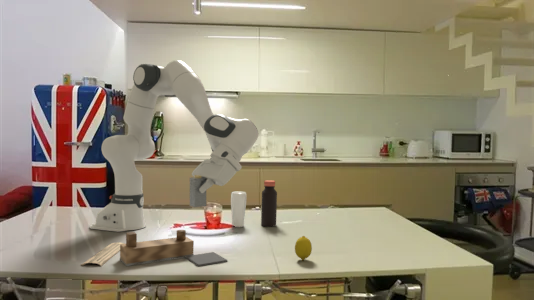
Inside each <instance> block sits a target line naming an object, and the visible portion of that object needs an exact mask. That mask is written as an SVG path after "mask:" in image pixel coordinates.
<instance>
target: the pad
mask: <svg viewBox="0 0 534 300" xmlns="http://www.w3.org/2000/svg"><path fill="white" fill-rule="evenodd" d="M185 258H186V259H187V260H188V261H189V262H191V263H192V264H194V265H196V266H197V267H205V266H210V265H215V264H222V263H227V262H228V259H226V258H225V257H223V256H221V255H219V254H218V253H217V252H213V251H211V252H205V253H198V254H194V255H190V256H186V257H185Z"/></svg>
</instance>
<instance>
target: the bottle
mask: <svg viewBox="0 0 534 300" xmlns="http://www.w3.org/2000/svg"><path fill="white" fill-rule="evenodd" d="M263 182H264V183H263V187H264V189H263V190H262V192H261V208H260V209H261V210H260V211H261V212H260V213H261V214H260V215H261V217H260V220H261V221H260V225H261V226H263V227H266V228H268V227H269V228H272V227H276V226H277V209H278V206H277V205H278V202H277V201H278V192H277V191H276V189H275V187H276V181H275V180H270V179H269V180H264V181H263Z"/></svg>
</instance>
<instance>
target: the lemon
mask: <svg viewBox="0 0 534 300" xmlns="http://www.w3.org/2000/svg"><path fill="white" fill-rule="evenodd" d="M312 250H313V247H312V243H311V240H310V239H309V238H308V237H306V236H305V235H302V236H301V237H299V238H297V239H296V242H295V245H294V252H295V255H296V256H297V258H299V259H301V260H302V261H304V260H306V259H307V258H309V257H310V256H311V254H312Z"/></svg>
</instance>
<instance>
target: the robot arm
mask: <svg viewBox="0 0 534 300" xmlns="http://www.w3.org/2000/svg"><path fill="white" fill-rule="evenodd" d="M132 79H133V85H132V88H131V90H130V92H129V95H128V99H127V103H126V106H125V108H124V109H125V110H124V114H123V122H124V123H125V124H126V125H127V134H115V135H112V136H109V137H106V138H105V139H104V140H103V141H102V143H101V153H102V155H103V157H104V158H105V160H107V161H108V162H109V164H110V166H111V168H112V171H113V174H114V193H113V194H112V195H110V196H108V198H109V200H110V202H109V203H108V204H107V205H106V206H104V207H103V208H102V209H101V210H99V211H98V213H97V214H96V217H95V218H96V219H95V222H92V223H91V224H90V225H89V229H91V230H101V231H108V232H109V231H110V232H118V233H119V232H120V233H121V232H126V231H127V232H128V231H133V230H134V231H135V230H141V229H143V228H145V227H146V226H147V224H146V220H145V216H144V203H145V202H144V201H145V200H144V193H143V178H144V177H143V174H142V173H141V172H140V171H138V169H137V167H136V164H135V162H136V161H143V160H146V159H149V158H151V157H152V156H153V155H154V153H155V150H156V145H155V142H154V140H153V139H152V136H151V123H152V119H153V115H154V111H155V107H156V105H157V100H158V97H160V96H162V95H163V96H164V97H167V98H168V97H170V98H171V97H176V99H178V101H180V103H181V104H183V106H184V107H185V108H186V109H187V110H188V111H189V113H190V114H191V115H192V116H193V117H194V118H195V119H196V120H197V122H198V123H199V125H200V127H201V128H202V129H203V131H204V133H205V136H206V138H207V140H208V143H209V145H210V149H211V151H212V152H211V153H210V159H209V158H206V159H204V160H203V161H201V162H200V163H199V164H198V166H196V167H195V169H193V171H192V172H191V176H192V177H194V175H201V176H202V177H203V178H206V182H205V183H204V184H203V185H202V186H200V187H199V188H198V191H199V192H200V193H204V192H205V191H206V192H207V190H208V189H210V188H211V187H213V185H216V186H220V187H223V186H225V185H226V184H227V183H229V182H230V181H231V179H232V178H233V177H234V176H235V175H236V173H237V172H239V171H240V170H242V168H243V166H242V165H241V163H240V162H241V160H242V158H243V156H245V154H247V153H248V152H249V151H250V150H251V149H252V147H253V146H254V145H255V143H256V142H257V140H258V139H259V131H258V128H257V127H256V125H255V124H254V122H252V120H250V119H247V118H242V119H241V118H240V119H238V118H232V117H229V116H227V115H225V114H222V113H215V114H214V113H213V111H212V109H211V105H210V102H209V99H208V96H207V93H206V89H205V87H204V84H203V82H202V80H201V79H200V77H199V76H198V75H197V74H196V72H195V71H194V70H193V69H192V68H191V66H189V65H188V64H187V63H185V62H184V61H182V60H178V59H175V60H172V61H170V62H169V63H167V64H166V65H165V66H161V65H157V64H151V63H141V64H139V65H138V66H136V69H135V70H134V72H133V75H132Z"/></svg>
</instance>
